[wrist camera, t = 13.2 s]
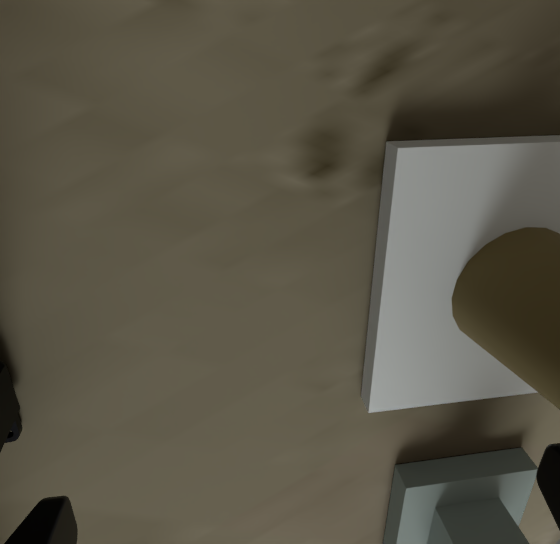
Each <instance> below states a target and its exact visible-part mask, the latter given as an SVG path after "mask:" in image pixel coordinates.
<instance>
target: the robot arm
mask: <svg viewBox="0 0 560 544" xmlns="http://www.w3.org/2000/svg"><path fill="white" fill-rule="evenodd" d="M19 410H20V406H19V403H18V400H17V397H16V394H15V391H14V388H13V385H12V382H11V379H10V376H9V373H8V369H7V366H6V365H5V364H4V363H3V362H2V361H0V452H1V449H2V447H3V445H4V443H7V442H12V441H15V440H17V439H18V437H19V436H20V433H21V431H22V425H21V422H20V419H19V416H18V412H19ZM10 431H12V432H10ZM536 477H537V482H538V485H539V488H540V490H541V492H542V494H543V496H544V498H545V501H546V503H547V505H548V507H549V509H550V511H551V513H552V515H553V517H554V519H555V522H556V524H557V526H558V528H559V530H560V443H557V444H550V445H548V446H547V447H546V449H545V451H544V454H543V457H542V459H541V462H540V464H539V467H538V470H537V474H536ZM76 543H77V524H76V520H75V517H74V513H73V510H72V506H71V503H70V500H69V498H68V497H67V496H57V497H48V498H44V499H42V500H41V501H40V502H39V503H38V504H37V505H36V506H35V507H34V508H33V510H32V511H31V512H30V513H29V514H28V516H27V517H26V518H25V519H24V520H23V522H22V523H21V524H20V525H19V526H18V528H17V529H16V530H15V531H14V532H13V534H12V535H11V536H10V537H9V539H8V540H7V541H6V542H5V543H4V544H76Z"/></svg>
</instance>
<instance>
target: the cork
mask: <svg viewBox="0 0 560 544" xmlns="http://www.w3.org/2000/svg"><path fill="white" fill-rule="evenodd" d="M452 314H453V318H454V320H455V322H456V324H457V326H458V328H459V330H461V331H462V332H463V333H464V334H466V335H467V336H468V337H469V338H470V339H472V340H473V341H474V342H475V343H477V344H478V345H479V346H481V347H482V348H483V349H484V350H486V351H487V352H488V353H489V354H491V355H492V356H493V357H494V358H496V359H497V360H498V361H499V362H501V363H502V364H503V365H504V366H506V367H507V368H508V369H509V370H511V371H512V372H513V373H514V374H516V375H517V376H518V377H519V378H521V379H522V380H523V381H525V382H526V383H527V384H528V385H530V386H531V387H532V388H533V389H535V390H536V391H537V392H538V393H540V394H541V395H542V396H543V397H545V398H546V399H547V400H548V401H550V402H551V403H552V404H553V405H555V406H556V407H557V408H558V409H560V233H557V232H555V231H552V230H550V229H548V228H538V227H525V228H522V229H518V230H515V231H511V232H508V233H504V234H503V235H501V236H499V237H498V238H496V239H494V240H493V241H491V242H489V243H488V244H486V245H484V246H483V247H482V248H481V249H480V250H479V251H478V252H477V253H476V254H475V255H474V256H473V257H472V258H471V259H470V260H469V261H468V263H467V264H466V266H465V267H464V269H463V271H462V272H461V274H460V276H459V277H458V279H457V281H456V285H455V288H454V292H453V295H452Z"/></svg>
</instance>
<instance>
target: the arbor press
mask: <svg viewBox="0 0 560 544" xmlns="http://www.w3.org/2000/svg"><path fill="white" fill-rule="evenodd" d="M525 227H538V228H548V229H550V230H552V231H555V232H557V233H560V135H549V136H521V137H494V138H466V139H438V140H410V141H386V150H385V160H384V170H383V180H382V190H381V200H380V210H379V220H378V230H377V240H376V250H375V260H374V270H373V280H372V290H371V300H370V310H369V320H368V330H367V340H366V350H365V360H364V370H363V380H362V390H361V398H362V400H363V402H364V404H365V406H366V409H367V411H368V413H371V412H380V411H388V410H396V409H404V408H413V407H421V406H429V405H438V404H446V403H454V402H462V401H471V400H479V399H487V398H496V397H504V396H512V395H520V394H529V393H537V391H536V390H535V389H533V388H532V387H531V386H530V385H528V384H527V383H526V382H525V381H523V380H522V379H521V378H519V377H518V376H517V375H516V374H514V373H513V372H512V371H511V370H509V369H508V368H507V367H506V366H504V365H503V364H502V363H501V362H499V361H498V360H497V359H496V358H494V357H493V356H492V355H491V354H489V353H488V352H487V351H486V350H484V349H483V348H482V347H481V346H479V345H478V344H477V343H475V342H474V341H473V340H472V339H470V338H469V337H468V336H467V335H466V334H464V333H463V332H462V331H461V330H459V328H458V326H457V324H456V322H455V320H454V318H453V314H452V295H453V292H454V288H455V285H456V281H457V279H458V277H459V276H460V274H461V272H462V271H463V269H464V267H465V266H466V264H467V263H468V261H469V260H470V259H471V258H472V257H473V256H474V255H475V254H476V253H477V252H478V251H479V250H480V249H481V248H482V247H483V246H484V245H486V244H488V243H489V242H491V241H493V240H494V239H496V238H498V237H499V236H501V235H503V234H504V233H508V232H511V231H515V230H518V229H522V228H525ZM537 470H538V468H537V466H536V465H535V464H534V462H533V461H532V460H531V459H530V457H529V456H528V455H527V454H526V452H525V451H524V450H523V448H514V449H507V450H500V451H493V452H485V453H478V454H471V455H464V456H456V457H449V458H442V459H435V460H427V461H420V462H413V463H406V464H399V465H395V470H394V476H393V482H392V489H391V495H390V502H389V508H388V515H387V521H386V527H385V534H384V540H383V544H529V542H528V541H527V539H526V538H525V536H524V535H523V533H522V532H521V530H520V529H519V527H518V526H519V524H520V521H521V518H522V515H523V512H524V509H525V507H526V504H527V501H528V498H529V495H530V492H531V490H532V487H533V484H534V481H535V478H536V474H537Z"/></svg>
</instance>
